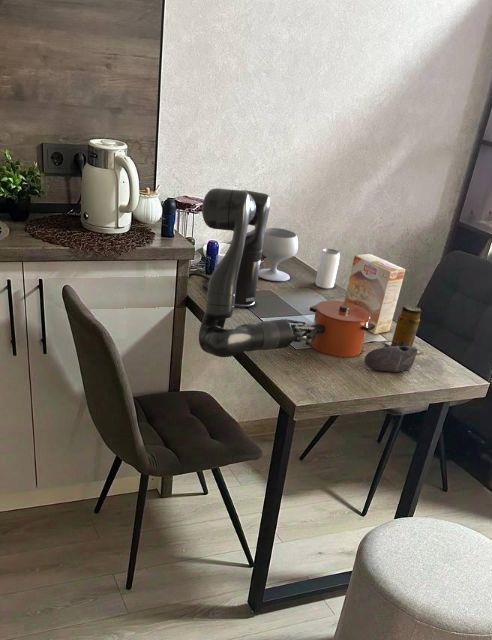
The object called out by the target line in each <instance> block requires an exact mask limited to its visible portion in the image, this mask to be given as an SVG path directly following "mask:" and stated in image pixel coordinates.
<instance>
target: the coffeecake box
mask: <svg viewBox="0 0 492 640" xmlns="http://www.w3.org/2000/svg"><path fill="white" fill-rule="evenodd" d="M405 274H406V269H405V268H403V267H401V266H400V265H399V266H398V265H397V264H395V263H392V262H390V261H387V260H386V259H383V258H381V257H378V256H376V255H375V254H371V253H363V254H354V257H353V262H352V265H351V269H350V274H349V278H348V279H349V280H348V284H347V288H346V293H345V297H344V301H343V302H349V303H352V304H356V305H358V306H361V307H363V308H365V309H366V310H368V311H369V312H370V314H371V317H370V319H369V322H368V323H371V324H374V325H375V328H374V329H372V330H370V331H369V332H370V333H372V334H373V335H377V334H381V333H387V332H390V329H391V326H392V322H393V318H394V315H395V311H396V308H397V303H398V300H399V297H400V296H399V295H400V292H401V288H402V285H403V281H404V277H405Z"/></svg>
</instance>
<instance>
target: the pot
mask: <svg viewBox="0 0 492 640" xmlns="http://www.w3.org/2000/svg"><path fill="white" fill-rule="evenodd" d="M309 311H310V312H312V313H314V317H313V318H314V319H313V324H312V325H319V324H321V325H323V326H325V330H324V333H323V334H317V335H316V337H315V340H314V341H313V342H312V343H311V345H310V346H311V347H312V348H313V349H314V350H316V351H319V352H321V353H323V354H326V355H329V356H334V357H339V358H340V357H341V358H349V357H351V358H352V357H355V356H358V355H360V354H361V353H362V351H363V347H364V343H365V339H366V334H367V333H368V332H370V330H372V329H374V328H375V325H374V324H371V323H368V322H369V319H370V317H371V314H370V312H369V311H368V310H366V309H365V308H363V307H361V306H358V305H356V304H352V303H349V302H344V301H343V300H333V299H332V300H331V299H329V300H323V301H320V302H318V303H316V304H314V305H312V306H310V307H309Z"/></svg>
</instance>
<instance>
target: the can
mask: <svg viewBox="0 0 492 640" xmlns="http://www.w3.org/2000/svg"><path fill="white" fill-rule="evenodd" d="M319 257H320V258H319V262H318V267H317V271H316V272H317V273H316V278H315V282H314V283H315V286H316V287H318V288H321V289H327V290H329V289H332V288H334V286H335V283H336V277H337V272H338V269H339V264H340V258H341V257H340V251H339V250H337V249H333V248H323V249H322V251H321V254H320V256H319Z"/></svg>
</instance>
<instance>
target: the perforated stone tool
mask: <svg viewBox="0 0 492 640" xmlns="http://www.w3.org/2000/svg"><path fill="white" fill-rule="evenodd" d="M417 350H418V348H417V346H412V347H408V346H391V347H390V346H384V347H377V348H376V349H373V350H370V351H369V352H368V353H367V354H366V355H365V357H364V364H365V366H366V367H367V368H368V369H370V370H374V371H383V372H391V373H398V372H409V371H410V370H411V369H412V366H413V365H414V363H415V360H416V357H417V355H418V353H417Z"/></svg>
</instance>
